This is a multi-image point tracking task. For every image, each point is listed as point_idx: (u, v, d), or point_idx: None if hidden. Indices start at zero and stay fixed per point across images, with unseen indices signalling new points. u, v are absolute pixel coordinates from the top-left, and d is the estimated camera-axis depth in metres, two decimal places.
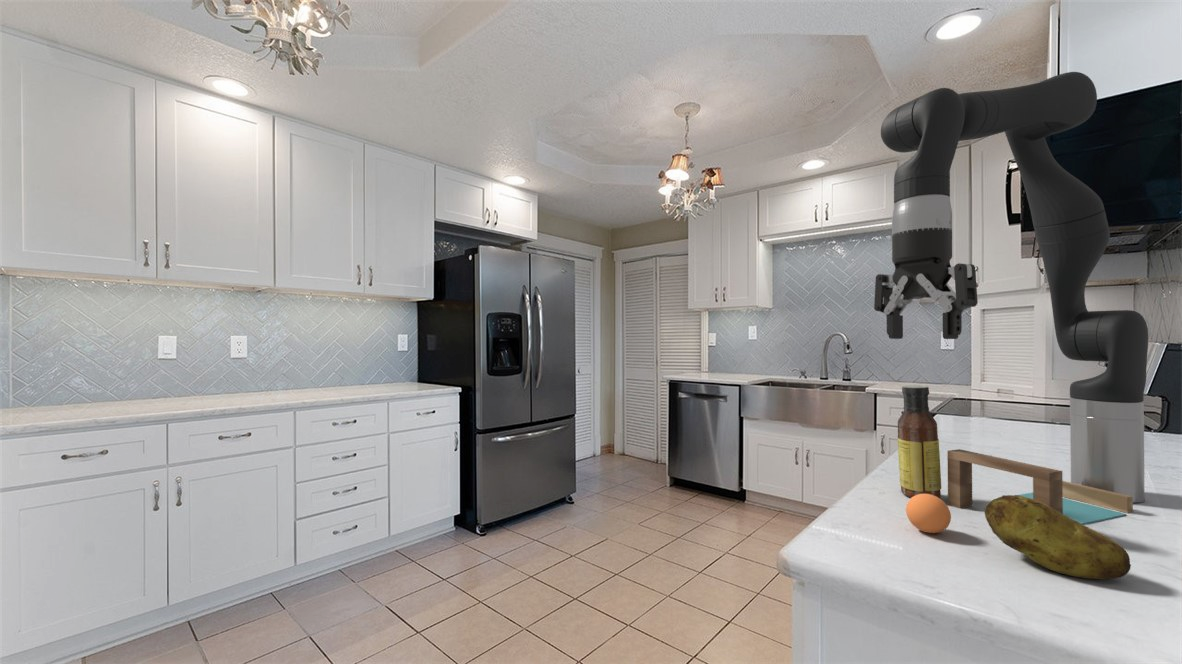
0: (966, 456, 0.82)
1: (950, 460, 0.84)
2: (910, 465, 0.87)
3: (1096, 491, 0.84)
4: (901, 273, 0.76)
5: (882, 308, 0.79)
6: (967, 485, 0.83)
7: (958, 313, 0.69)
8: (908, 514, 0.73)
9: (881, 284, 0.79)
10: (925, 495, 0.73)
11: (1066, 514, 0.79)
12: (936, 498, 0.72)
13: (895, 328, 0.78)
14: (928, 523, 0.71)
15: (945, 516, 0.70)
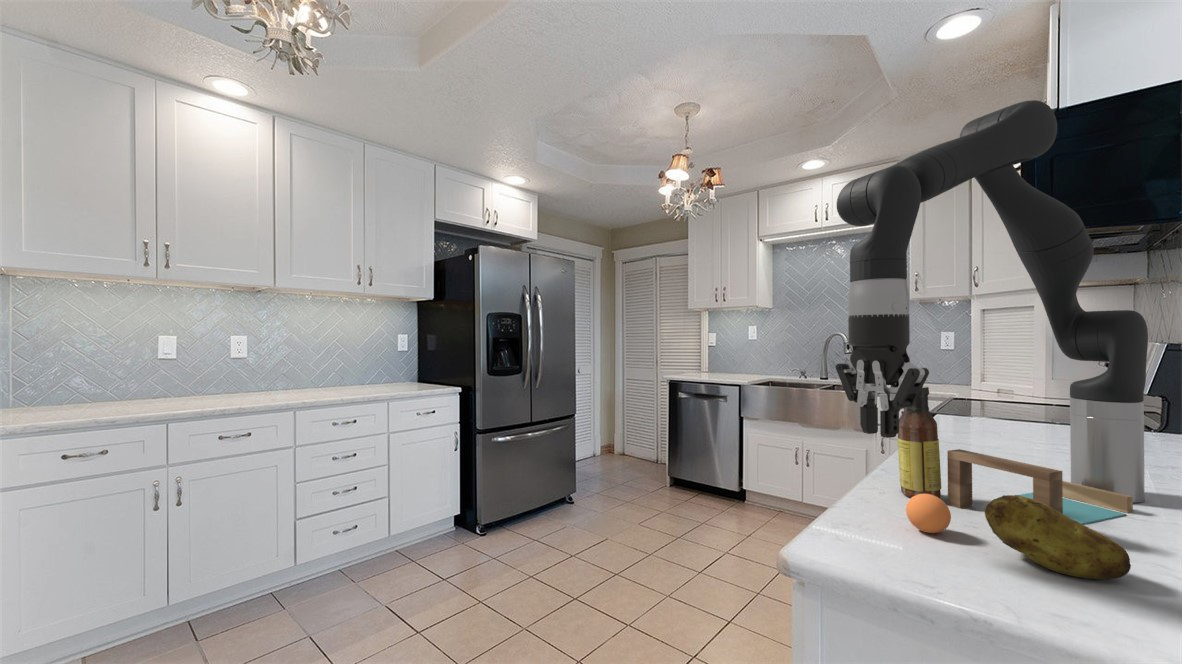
0: (966, 456, 0.82)
1: (950, 460, 0.84)
2: (910, 465, 0.87)
3: (1096, 491, 0.84)
4: (856, 353, 0.72)
5: (856, 396, 0.73)
6: (967, 485, 0.83)
7: (895, 412, 0.68)
8: (908, 514, 0.73)
9: (843, 372, 0.74)
10: (925, 495, 0.73)
11: (1066, 514, 0.79)
12: (936, 498, 0.72)
13: (869, 422, 0.71)
14: (928, 523, 0.71)
15: (945, 516, 0.70)
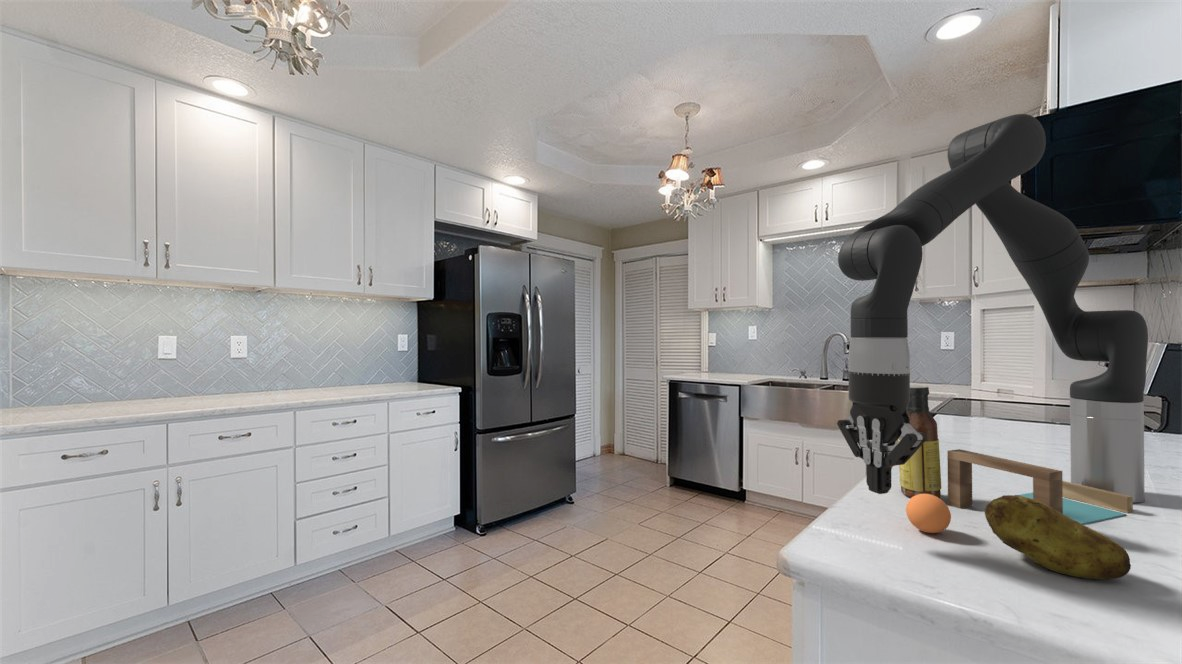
0: (966, 456, 0.82)
1: (950, 460, 0.84)
2: (910, 465, 0.87)
3: (1096, 491, 0.84)
4: (855, 408, 0.72)
5: (861, 451, 0.72)
6: (967, 485, 0.83)
7: (888, 469, 0.69)
8: (908, 514, 0.73)
9: (846, 428, 0.74)
10: (925, 495, 0.73)
11: (1066, 514, 0.79)
12: (936, 498, 0.72)
13: None
14: (928, 523, 0.71)
15: (945, 516, 0.70)
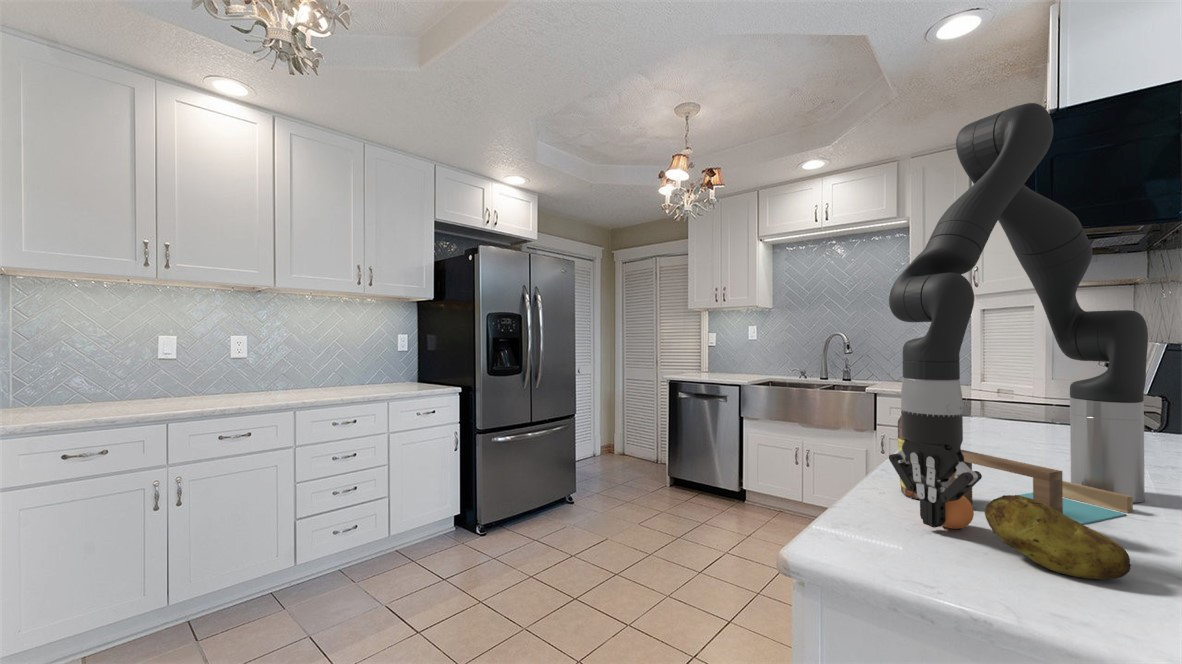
0: (966, 456, 0.82)
1: None
2: None
3: (1096, 491, 0.84)
4: (908, 444, 0.76)
5: (915, 486, 0.75)
6: None
7: (942, 504, 0.72)
8: None
9: (898, 463, 0.77)
10: None
11: (1066, 514, 0.79)
12: None
13: None
14: (957, 500, 0.73)
15: (971, 514, 0.72)
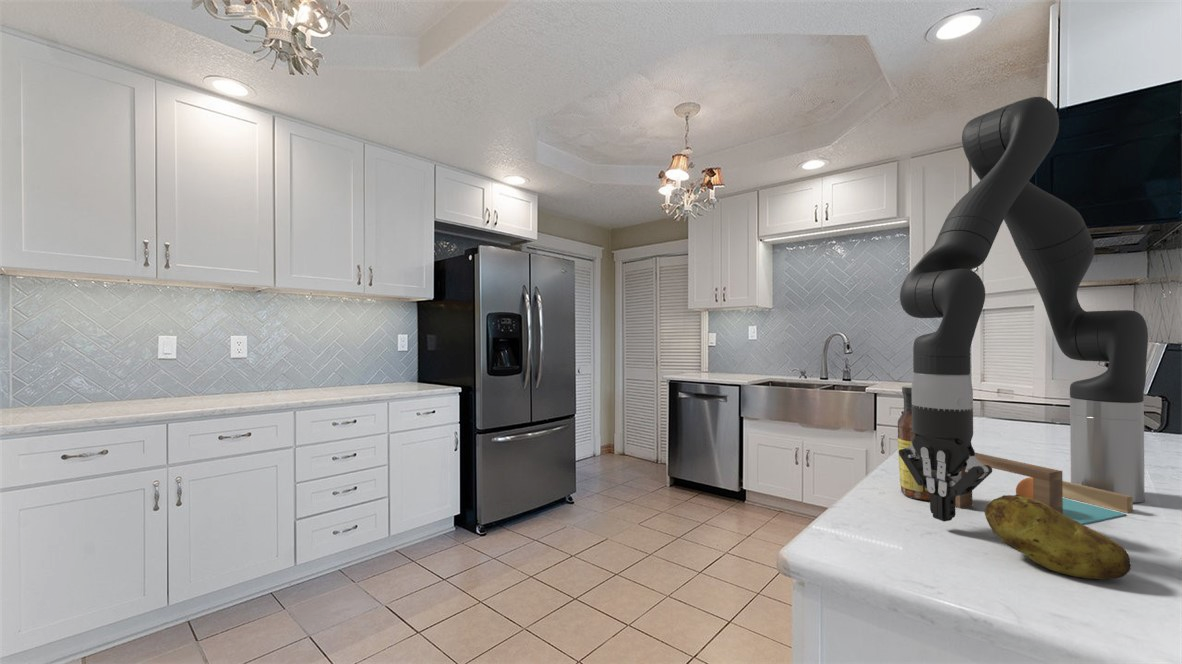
0: None
1: None
2: None
3: (1096, 491, 0.84)
4: (918, 439, 0.76)
5: (925, 480, 0.76)
6: None
7: (952, 498, 0.73)
8: None
9: (908, 457, 0.78)
10: None
11: (1066, 514, 0.79)
12: None
13: None
14: None
15: None
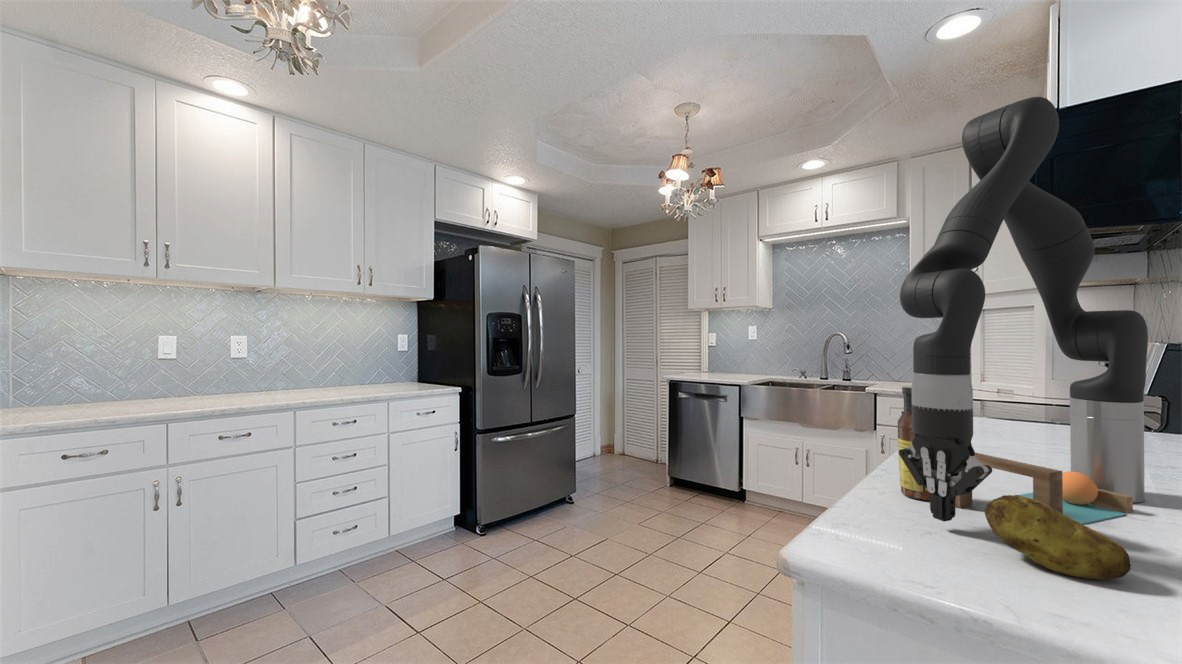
0: None
1: None
2: None
3: None
4: (918, 439, 0.76)
5: (925, 480, 0.76)
6: None
7: (952, 498, 0.73)
8: None
9: (908, 457, 0.78)
10: (1070, 474, 0.84)
11: (1066, 514, 0.79)
12: (1081, 475, 0.83)
13: None
14: (1080, 499, 0.82)
15: (1094, 490, 0.82)
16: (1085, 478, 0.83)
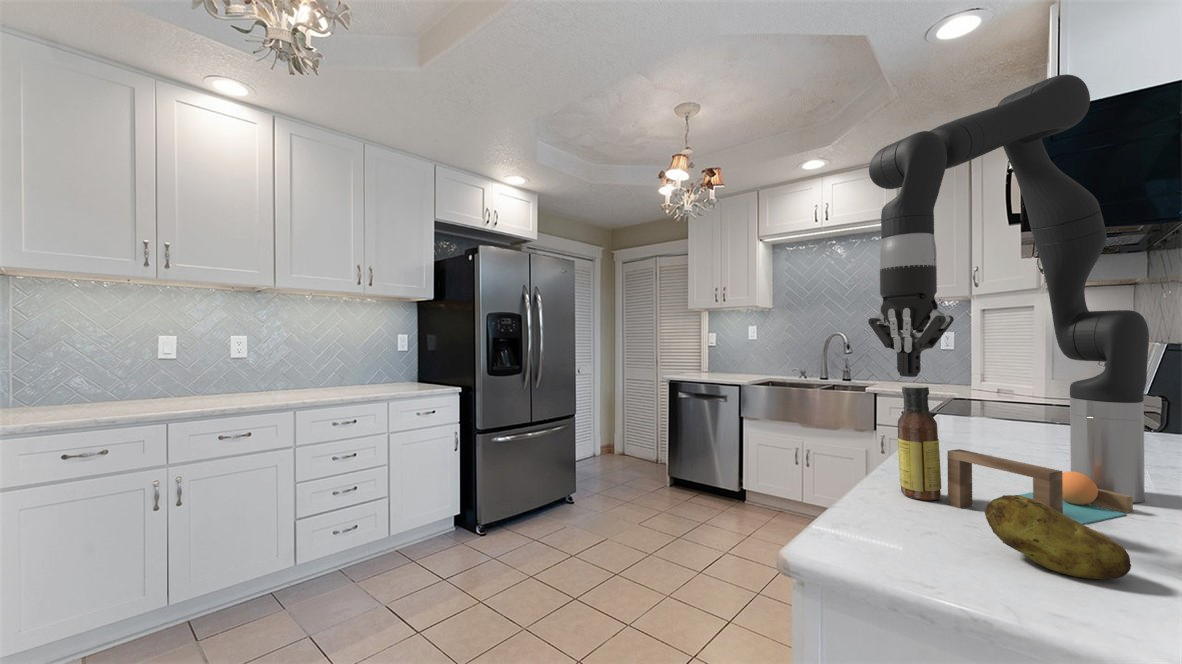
0: (966, 456, 0.82)
1: (950, 460, 0.84)
2: (910, 465, 0.87)
3: None
4: (886, 304, 0.80)
5: (892, 342, 0.79)
6: (967, 485, 0.83)
7: (917, 354, 0.76)
8: None
9: (877, 324, 0.81)
10: (1070, 474, 0.84)
11: (1066, 514, 0.79)
12: (1081, 475, 0.83)
13: None
14: (1080, 499, 0.82)
15: (1094, 490, 0.82)
16: (1085, 478, 0.83)
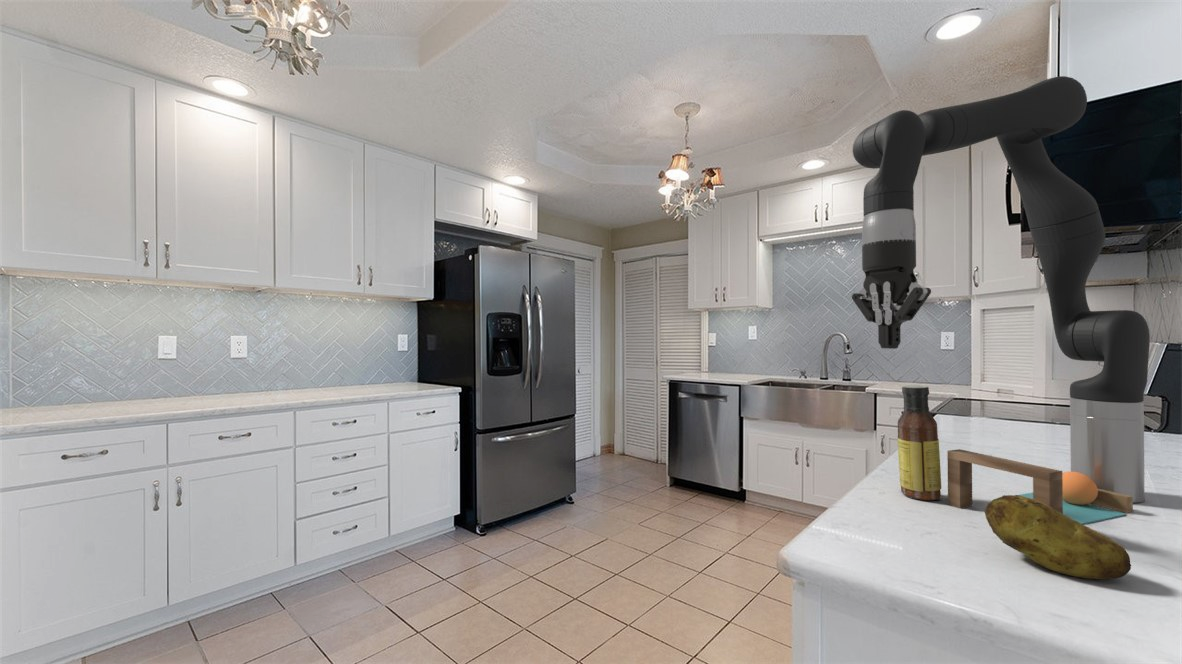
0: (966, 456, 0.82)
1: (950, 460, 0.84)
2: (910, 465, 0.87)
3: None
4: (868, 279, 0.82)
5: (874, 316, 0.82)
6: (967, 485, 0.83)
7: (897, 326, 0.79)
8: None
9: (860, 299, 0.84)
10: (1070, 474, 0.84)
11: (1066, 514, 0.79)
12: (1081, 475, 0.83)
13: None
14: (1080, 499, 0.82)
15: (1094, 490, 0.82)
16: (1085, 478, 0.83)
